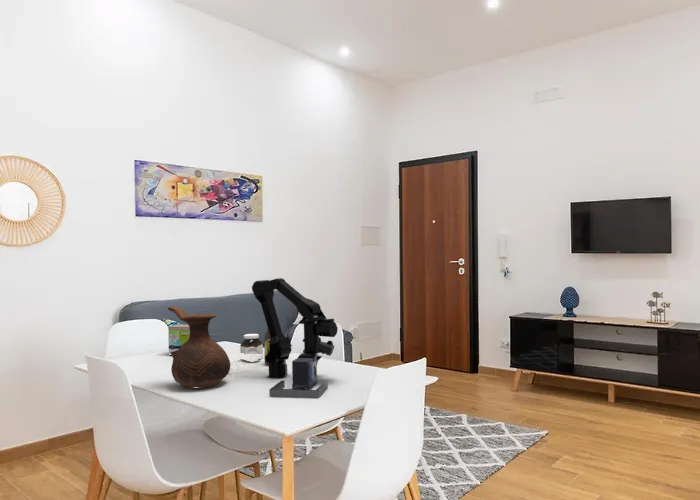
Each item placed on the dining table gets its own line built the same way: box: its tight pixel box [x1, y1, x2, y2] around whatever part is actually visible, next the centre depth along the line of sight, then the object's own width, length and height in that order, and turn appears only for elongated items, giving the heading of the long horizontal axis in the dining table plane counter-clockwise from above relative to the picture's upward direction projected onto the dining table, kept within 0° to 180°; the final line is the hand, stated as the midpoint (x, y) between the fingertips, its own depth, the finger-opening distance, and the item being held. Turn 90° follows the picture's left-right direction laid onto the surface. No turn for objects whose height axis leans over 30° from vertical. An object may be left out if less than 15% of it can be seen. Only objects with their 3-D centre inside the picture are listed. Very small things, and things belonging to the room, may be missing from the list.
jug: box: [167, 305, 231, 388], centre depth 209 cm, size 22×22×30 cm
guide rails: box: [268, 379, 329, 399], centre depth 193 cm, size 17×13×2 cm
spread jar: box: [239, 333, 264, 355], centre depth 253 cm, size 12×11×12 cm
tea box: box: [167, 323, 190, 355], centre depth 272 cm, size 15×10×15 cm, turn 81°
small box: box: [291, 356, 318, 390], centre depth 201 cm, size 11×6×10 cm, turn 166°
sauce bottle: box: [263, 327, 270, 366], centre depth 243 cm, size 6×6×20 cm
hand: (312, 376), depth 211 cm, fingers closed on small box
